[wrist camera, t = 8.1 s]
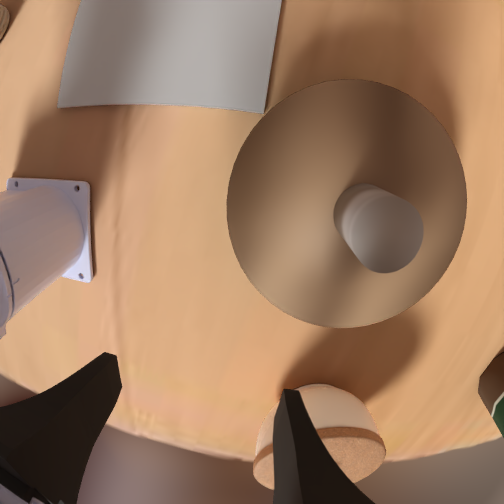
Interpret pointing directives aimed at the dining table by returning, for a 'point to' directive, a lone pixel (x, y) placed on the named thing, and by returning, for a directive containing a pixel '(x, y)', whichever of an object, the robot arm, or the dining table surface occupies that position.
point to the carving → (3, 20)
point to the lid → (346, 203)
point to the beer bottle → (494, 390)
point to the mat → (171, 53)
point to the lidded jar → (329, 433)
